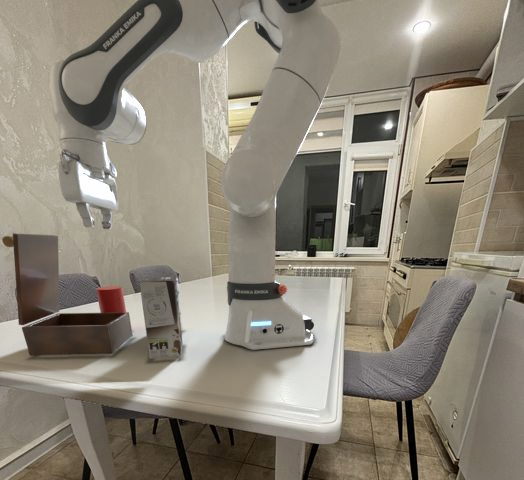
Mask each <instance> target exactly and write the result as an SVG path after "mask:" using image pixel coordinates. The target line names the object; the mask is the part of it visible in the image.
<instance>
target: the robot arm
mask: <svg viewBox="0 0 524 480" xmlns="http://www.w3.org/2000/svg"><path fill="white" fill-rule="evenodd" d="M249 22H254V23H253V25H254V29H255V32H256V34H258V36H260V37H261V38H262V39H264V40H265V41H266V42H267V44H268V45H269V46H270V47H271V48H272V49H273V50H274V52H276V53H277V54H278V55H277V58H276V61H275V63H274V65H273V67H272V70H271V72H270V75H269V77H268V79H267V82H266V84H265V86H264V88H263V91H262V93H261V96H260V99H259V100H258V104H257V105H256V107H255V110H254V113H252V117H251V119H250V121H249V122H248V124H247V125H246V127H245V129H244V131H243V132H242V134H241V136H240V138H239V139H238V141H237V142H236V145H235V147H234V148H233V151H232V153H231V154H230V156H229V158H227V159H226V162H225V163H224V164H223V168H222V170H221V171H222V172H221V177H220V187H221V194H222V196H223V198H224V201H225V202H226V204H227V205H228V206H229V218H228V219H229V220H228V221H229V222H228V237H227V238H228V241H227V265H228V267H227V268H228V269H227V270H228V271H227V272H228V281H227V283H226V284H227V285H226V300H227V301H226V302H227V305H228V314H227V315H228V316H227V323H226V328H225V329H226V330H225V333H224V337H223V339H224V340H225V341H226V342H228V343H229V344H232V345H236V346H240V347H244V348H246V349H248V350H253V351H254V350H256V351H257V350H265V349H267V350H268V349H278V348H279V349H280V348H288V347H289V348H290V347H298V346H299V347H300V346H310V345H312V344H313V343H314V341H315V340H314V339H315V338H314V334H313V332H312V330H313V329H314V327H315V324H314V323H315V322H313V318H311V317H309V316H307V315H303V314H302V312H301V311H300V310H299V309H297V307H295V306H294V305H293V304H291V303H290V302H289V301H288V300H286V298H284V297H283V296H284V295H285V294H286V293H287V292H288V287H287V286H286V285H285V284H282V283H280V282H278V281H277V280H276V245H277V243H276V235H277V233H276V231H277V229H276V228H277V194H278V191H279V189H280V188H281V185H282V183H283V181H284V179H285V177H286V175H287V174H288V171H289V170H290V168H291V166H292V164H293V162H294V160H295V158H296V156H297V155H298V153H299V151H300V149H301V147H302V145H303V144H304V141H305V139H306V136H307V134H308V133H309V130H310V128H311V127H312V125H313V122H314V120H315V118H316V116H317V114H318V112H319V110H320V108H321V106H322V103H323V101H324V99H325V97H326V94H327V93H328V90H329V87H330V85H331V82H332V79H333V76H334V73H335V70H336V68H337V64H338V60H339V58H340V54H341V47H342V41H341V36H340V32H339V29H338V27H337V26H336V24H335V23H334V21H333V20H332V19H331V18H330V17H329V16H328V15H326V14H325V13H324V12H323V10H322V9H321V4H320V0H137V1H135V2H134V3H133V4H132V5H131V6H130V7H129V8H128V9H127V10H126V11H125V12H124V13H123V14H122V15H121V16H119V18H117V20H116V21H115V22H113V24H111V25H110V26H109V28H108V29H106V30H105V31H104V33H102V34H101V35H100V36H99V37H98V38H97V39H96V40H95V41H94V42H92V43H91V44H90V45H88V46H87V47H85V48H83V49H80V50H78V51H76V52H74V53H72V54H71V55H69V56H68V57H67V58H65V60H59V61H57V62H54V63H53V64H52V65H51V66H50V67H49V69H48V70H49V71H48V81H47V82H48V91H49V99H50V103H51V110H52V115H53V117H54V121H55V122H56V125H57V129H58V142H59V146H60V153H59V161H58V163H57V173H58V179H59V180H58V181H59V187H60V192H61V195H62V197H63V199H64V200H65V201H66V202H69V203H72V204H75V206H76V210H77V212H78V214H79V215H80V218H81V219H82V224H83V227H85V228H95V226H96V225H95V219H94V218H93V217H92V214H91V212H90V210H91V208H93V209H97V210H100V214H101V215H102V221H101V225H102V226H101V227H102V229H103V230H112V229H113V224H112V221H113V212H118V211H119V206H120V203H119V192H118V186H117V182H116V179H115V178H117V177H118V174H117V169H116V167H115V166H114V164H113V162H112V161H111V159H110V156H109V155H108V151H107V150H108V149H107V145H106V144H107V142H113V143H116V144H121V145H127V146H128V145H131V146H132V145H135V144H138V143H139V142H140V141H141V140H142V139H143V137H144V136H145V134H146V130H147V123H148V121H147V115H146V111H145V109H144V107H143V106H142V104H141V103H140V102H139V101H138V99H137V98H136V97H135V96H134V95H133V94H132V93H131V92H130V91H129V90H128V89H127V88H126V85H127V84H128V83H129V82H131V80H132V79H134V78H135V77H136V76H137V75H138V74H139V73H140V72H141V71H142V70H143V69H144V68H145V67H146V66H147V65H148V64H149V63H151V61H153V59H155V58H156V57H158V56H160V55H164V54H172V55H177V56H179V57H182V58H184V59H185V60H187V61H189V62H193V63H199V64H200V63H201V64H202V63H206V62H208V61H209V60H210V59H211V58H213V57H215V56H216V55H217V54H218V53H219V52H220V51H221V50H222V49H223V48H224V47H225V46H226V44H227V43H228V42H229V41H230V40H231V39H232V38H233V36H234V35H235V34H236V33H237V32H238V31H239V30H240V29H241V28H242V27H243V26H244V25H245V24H247V23H249Z"/></svg>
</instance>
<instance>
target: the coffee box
mask: <svg viewBox="0 0 524 480" xmlns="http://www.w3.org/2000/svg"><path fill="white" fill-rule="evenodd" d="M176 278H177V276H175V275H174V276H171V275H170V276H169V275H168V276H155V277H154V276H153V277H150V276H149V277H148V276H147V277H145V278H143V279H142V280H140V281H139V289H140V297H141V304H142V311H143V320H144V326H145V333H146V339H147V349H148V356H149V357H148V358H149V359H150V360H153V359H169V358H178V360H181V359H182V352H183V345H184V343H183V341H184V340H183V332H182V331H183V329H182V330H181V321H180V311H179V301H178V291H177V281H176Z"/></svg>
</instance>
